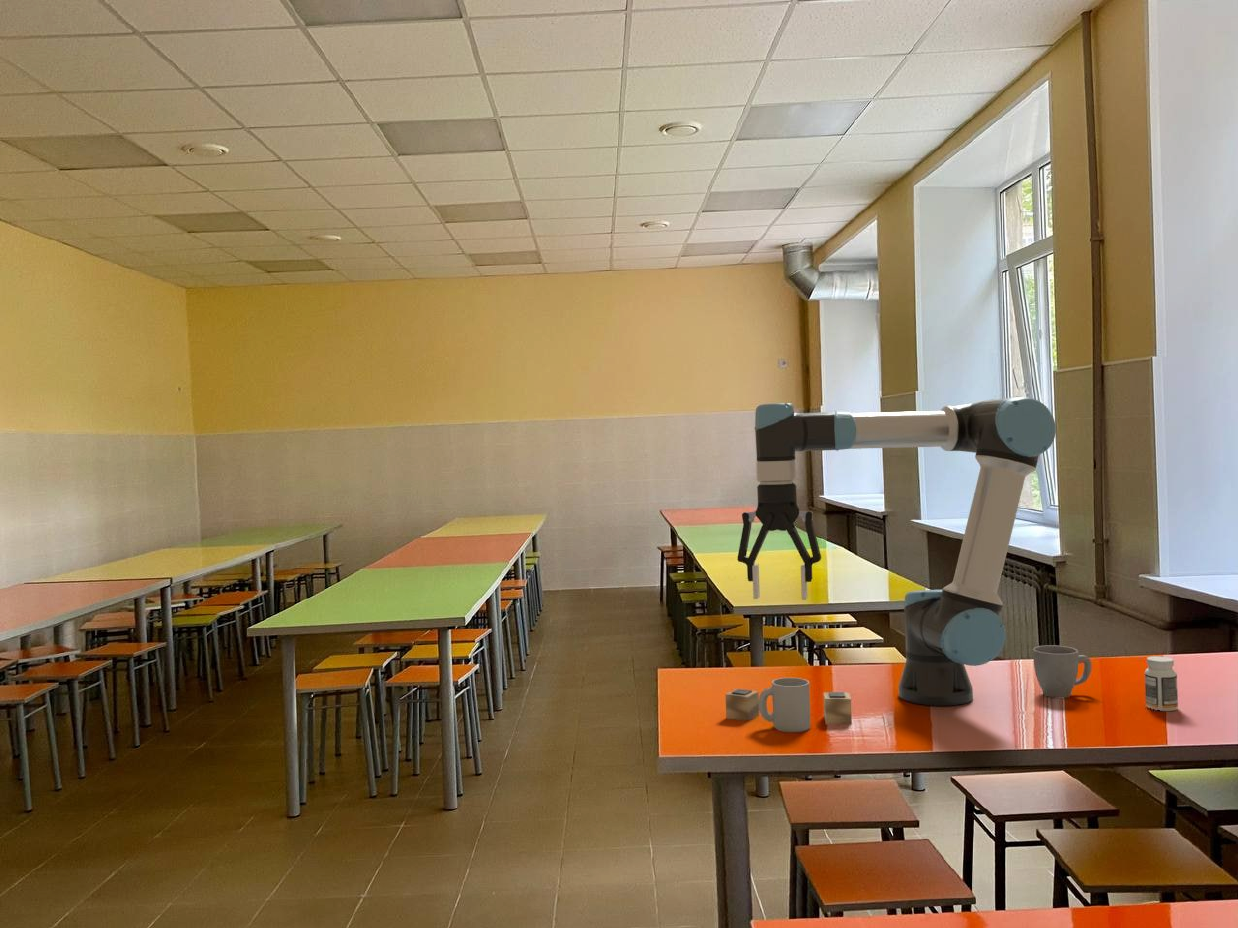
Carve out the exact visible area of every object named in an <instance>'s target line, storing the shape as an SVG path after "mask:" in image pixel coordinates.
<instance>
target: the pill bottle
mask: <svg viewBox="0 0 1238 928" xmlns="http://www.w3.org/2000/svg"><path fill="white" fill-rule="evenodd" d="M1174 661H1175V660H1174V659H1173V657H1172V658H1171V657H1167V656H1155V655H1154V656H1149V657H1146V665H1147V666H1148V667H1147V668H1146V669H1145V671H1144V691H1145V692H1144V695H1145V706H1146V708H1148V709H1150V708H1151V709H1150V710H1153V709H1154V710H1153V711H1157V710H1160V711H1159V712H1172V711H1176V710H1178V708H1179V700H1178V698H1179V697H1178V674H1177V671H1175V670H1174V669H1173V667H1174V665H1175V662H1174Z"/></svg>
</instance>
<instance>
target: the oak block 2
mask: <svg viewBox="0 0 1238 928" xmlns="http://www.w3.org/2000/svg"><path fill="white" fill-rule="evenodd" d="M823 716H824V717H823V718H824V721H825V724H826V725H828V724H835V725H837V724H838V725H840V724H841V725H843V724H844V725H846V724H847V725H852V723H853V721H852V720H853V719H852V717H853V716H852V697H851V695H850V693H849V692H845V691H844V692H843V691H841V692H840V691H839V692H838V691H836V692H835V691H834V692H833V691H832V692H831V691H830V692H823Z"/></svg>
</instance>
